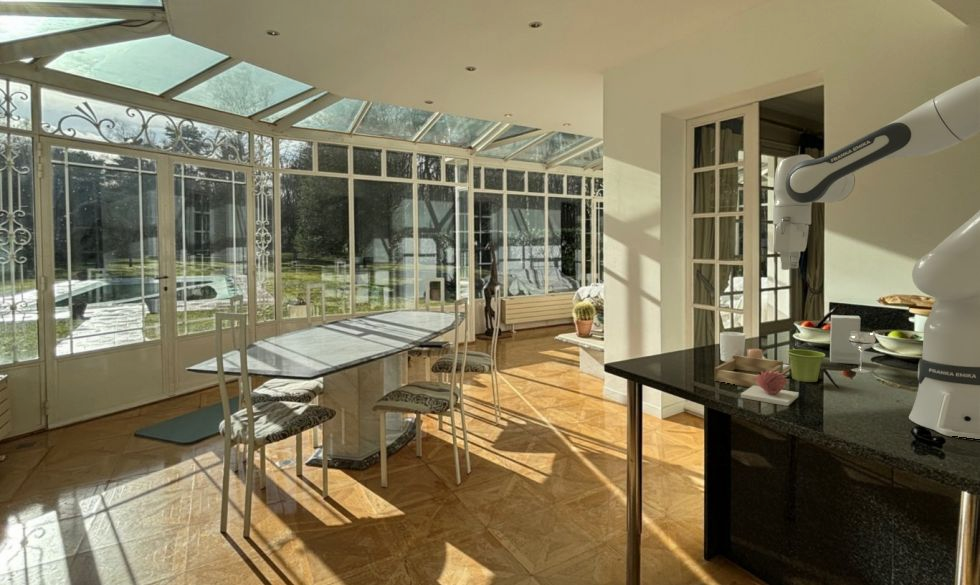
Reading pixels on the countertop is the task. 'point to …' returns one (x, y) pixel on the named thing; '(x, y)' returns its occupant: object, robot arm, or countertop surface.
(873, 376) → the countertop surface
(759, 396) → the tile
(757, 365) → the open wooden box
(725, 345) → the white cup
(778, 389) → the flower
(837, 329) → the skincare box
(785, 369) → the lid
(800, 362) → the plant pot
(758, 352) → the tan rounded block
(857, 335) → the wineglass
